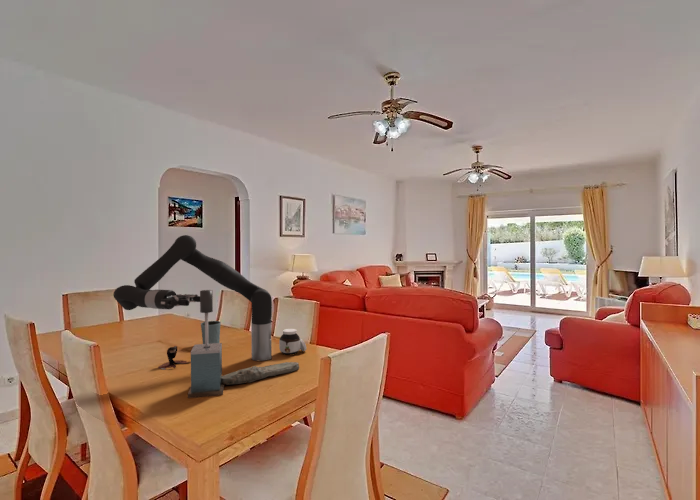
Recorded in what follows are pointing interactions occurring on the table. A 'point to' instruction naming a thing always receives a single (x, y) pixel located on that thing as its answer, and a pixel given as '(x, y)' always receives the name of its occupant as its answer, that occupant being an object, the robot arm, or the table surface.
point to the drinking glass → (211, 332)
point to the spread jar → (291, 342)
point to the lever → (206, 309)
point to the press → (206, 371)
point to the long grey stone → (258, 373)
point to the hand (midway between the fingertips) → (196, 301)
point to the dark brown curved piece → (171, 359)
